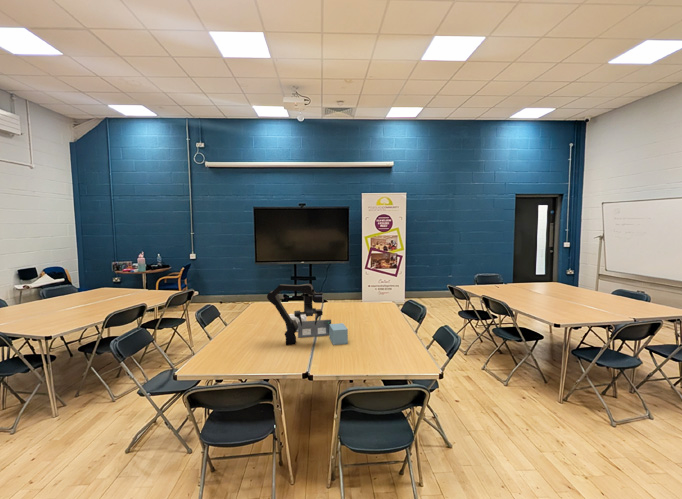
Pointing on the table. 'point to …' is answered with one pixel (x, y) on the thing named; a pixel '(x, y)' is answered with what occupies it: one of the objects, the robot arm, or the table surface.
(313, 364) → the table surface
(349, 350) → the table surface
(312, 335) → the dark grey case
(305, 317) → the cable organizer
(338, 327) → the pale blue box
